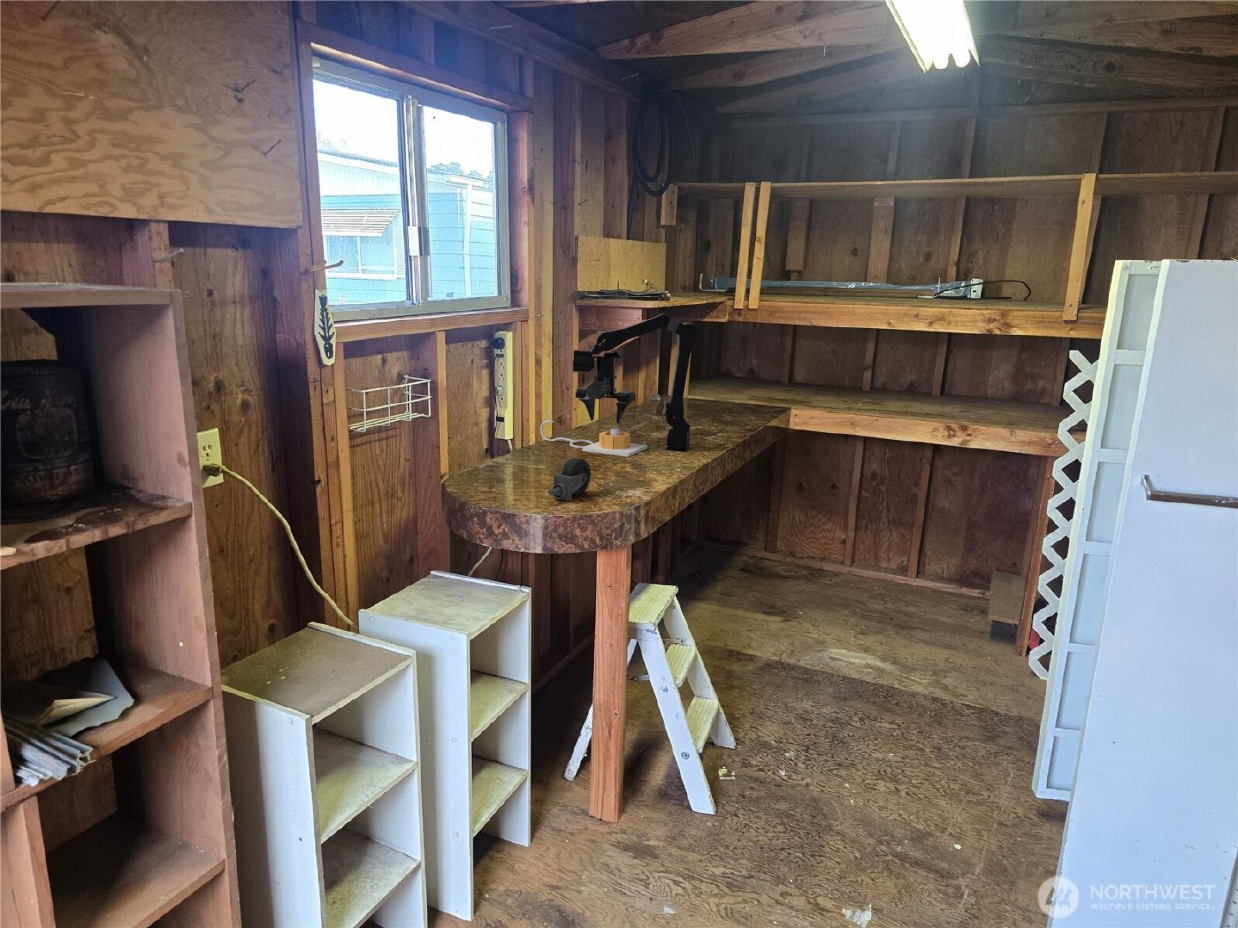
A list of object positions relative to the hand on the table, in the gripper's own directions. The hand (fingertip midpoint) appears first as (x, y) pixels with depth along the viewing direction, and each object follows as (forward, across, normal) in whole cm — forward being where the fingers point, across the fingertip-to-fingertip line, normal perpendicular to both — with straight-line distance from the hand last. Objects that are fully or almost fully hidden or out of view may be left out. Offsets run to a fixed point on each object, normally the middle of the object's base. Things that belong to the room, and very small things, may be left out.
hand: (605, 421), depth 244 cm
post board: (+8, +4, 0) cm, 9 cm away
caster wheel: (+9, +19, -54) cm, 58 cm away
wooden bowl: (+8, +3, 0) cm, 8 cm away
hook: (+9, -16, +1) cm, 18 cm away
